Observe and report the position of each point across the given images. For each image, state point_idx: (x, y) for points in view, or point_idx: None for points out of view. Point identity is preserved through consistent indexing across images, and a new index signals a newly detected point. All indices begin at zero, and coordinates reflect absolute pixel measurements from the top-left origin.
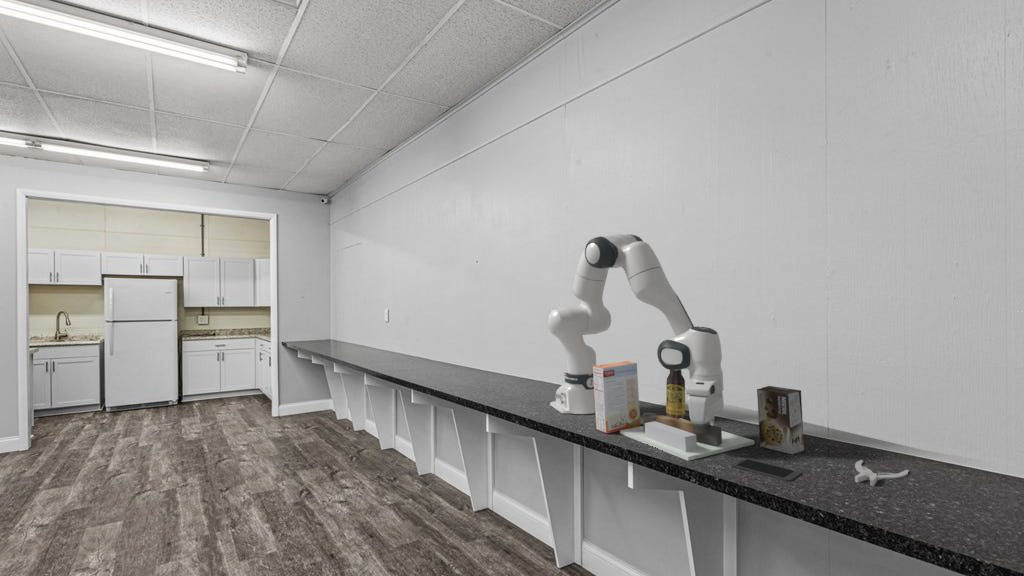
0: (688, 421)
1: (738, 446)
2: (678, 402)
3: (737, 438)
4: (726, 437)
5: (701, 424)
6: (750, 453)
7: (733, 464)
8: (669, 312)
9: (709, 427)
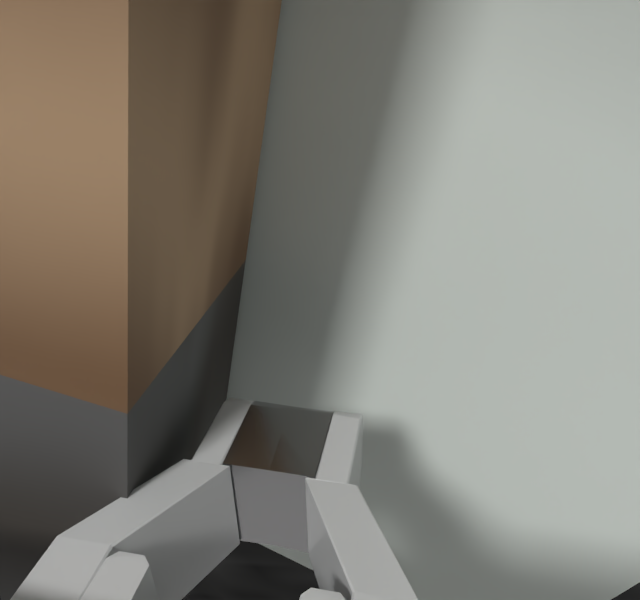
0: (64, 213)
1: None
2: None
3: (514, 576)
4: (509, 500)
5: (59, 480)
6: (252, 592)
7: None
8: None
9: (8, 572)
